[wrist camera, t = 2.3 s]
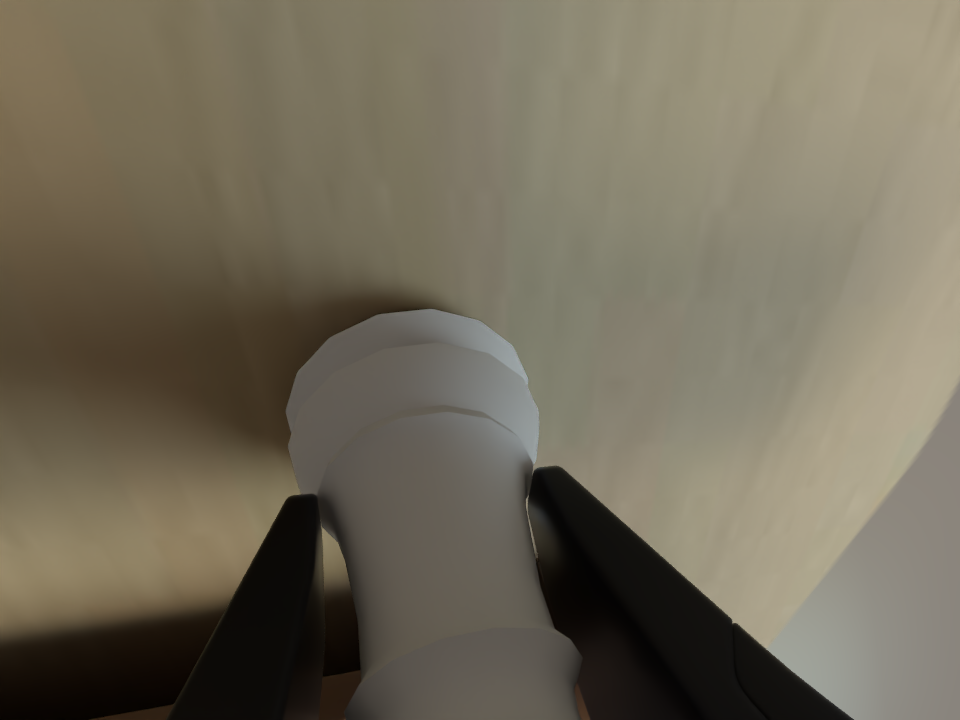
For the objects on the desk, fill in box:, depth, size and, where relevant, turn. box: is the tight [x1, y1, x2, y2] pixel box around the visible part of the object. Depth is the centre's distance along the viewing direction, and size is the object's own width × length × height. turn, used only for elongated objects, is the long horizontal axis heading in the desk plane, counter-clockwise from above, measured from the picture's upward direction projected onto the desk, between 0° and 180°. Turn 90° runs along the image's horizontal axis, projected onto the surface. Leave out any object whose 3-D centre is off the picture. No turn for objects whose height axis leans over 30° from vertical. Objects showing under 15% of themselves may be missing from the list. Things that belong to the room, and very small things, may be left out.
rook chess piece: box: [286, 309, 583, 720], centre depth 8 cm, size 4×4×8 cm
